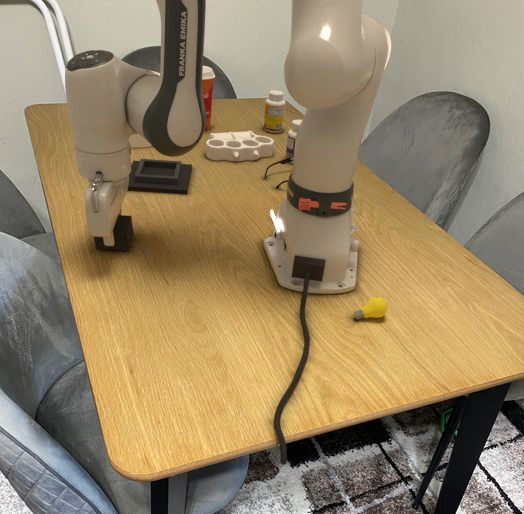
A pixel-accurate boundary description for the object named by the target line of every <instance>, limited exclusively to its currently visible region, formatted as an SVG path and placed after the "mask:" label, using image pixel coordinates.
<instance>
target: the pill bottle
mask: <svg viewBox="0 0 524 514" xmlns="http://www.w3.org/2000/svg"><path fill="white" fill-rule="evenodd" d="M302 120H303V119H294V120H292V121H291V129H289V130H288V132H287V137H286V139H287V140H286V148H285V157H284V159H287V158H290V157H292V156H294V151H295V142H296V135H297V131H298V128H299V126H300V124H301V122H302ZM288 164H292V165H293V161H291V162H288Z"/></svg>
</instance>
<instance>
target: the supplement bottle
mask: <svg viewBox="0 0 524 514" xmlns="http://www.w3.org/2000/svg"><path fill="white" fill-rule="evenodd" d="M284 95H285V94H284V91H281V90H277V89H272V90H269V92H268V97H267V98H266V100H265V105H264V106H265V107H264V121H263V129H264V130H265V132H268V133H270V134H279V133H281V132H283V130H284V123H285V114H286V113H285V112H286V105H287V104H286V100H285V99H284Z"/></svg>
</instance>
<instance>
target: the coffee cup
mask: <svg viewBox="0 0 524 514" xmlns="http://www.w3.org/2000/svg"><path fill="white" fill-rule="evenodd" d="M215 78H216V75H215V71H214V70H213V68H212V67H210V66H206V65H203V72H202V93H203V100H204V105H205V110H206V127H205V131H208V130H210V128H211V119H212V107H213V94H214V93H213V92H214V91H213V90H214V79H215ZM205 131H204V132H205Z"/></svg>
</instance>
